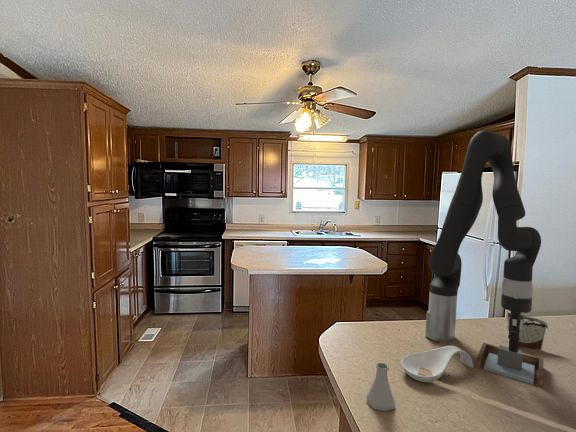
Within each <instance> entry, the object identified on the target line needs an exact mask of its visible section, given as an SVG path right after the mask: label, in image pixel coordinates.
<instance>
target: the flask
mask: <svg viewBox="0 0 576 432" xmlns="http://www.w3.org/2000/svg"><path fill="white" fill-rule="evenodd" d="M375 368H376V373H375V377H374V379H373V381H372V383H371V386H370V388H369V390H368V392H367V395H366V404H368V405H369V406H370V407H371V408H372V409H374V410H376V411H383V412H387V411H391V410H395V409H396V406H395V404H396V403H395V399H394V396H393V392H392V390H391V386H390V383H389V379H388V370H389V369H390V368H389V365H388V363H386V362H382V361H379V362H376V363H375Z"/></svg>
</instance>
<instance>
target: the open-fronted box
mask: <svg viewBox="0 0 576 432" xmlns="http://www.w3.org/2000/svg"><path fill="white" fill-rule="evenodd" d="M498 348H499V345H498V346H497V345H494V344H490V343H486V342H482V344H481V347H480V350H479V352H478V354H477V357H476V364H475V365H476V367H475V368H476V369H477V368H478V369H481V370H484V365H485V362H486V359H487V356H488V353H489V352H490V353H493V354H497V355H498ZM522 362H526V363H529V364H533V365H535V367H534V382H533V384H531V385H533V386H536V387H539V388H543V383H544V358H543V357H539V356H536V355H533V354H532V355H531V354H529V353H524V352H523V359H522ZM489 372H490V373H493V374H495V373H494V372H491V371H489ZM502 376H503V377H507V376H504V375H502ZM507 378H508V377H507ZM515 380H516V381H519V382H523V381H520V380H517V379H515ZM523 383H524V382H523Z"/></svg>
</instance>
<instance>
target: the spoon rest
mask: <svg viewBox="0 0 576 432" xmlns="http://www.w3.org/2000/svg"><path fill="white" fill-rule="evenodd" d="M456 354H459V355H460V359H459V362H461V363H463V365H465V366H467V367H469V368H475V367H474V362H473V359H472V357H471V355H470V354H469V353H468V352H467V351H465V350H463V349H462V348H460V347H458V346H457V345H456V346H455V345H445V346H441V347H438V348H434V349H429V350H426V351H419V352H415V353H411V354H410V353H409V354H407V355H404V357H402V359H401V360H400V366H401V368H402V369H403V370H404V372H405V373H406V374H407V375H408V376H409V377H410V378H412V379H413V380H416V381H419V382H422V383H431V382H435V381H437V380H439V379H440V378H441V377H442V376H443V374H444V373H445V371H446V370H447V368H448V366H449V364H450V361H451V360H452V358H453V357H454V356H455V355H456ZM421 369H425V370H428V371H430V373H431V374H432V375H424V374H422V373H419V371H420V370H421Z"/></svg>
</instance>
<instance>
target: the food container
mask: <svg viewBox="0 0 576 432" xmlns="http://www.w3.org/2000/svg"><path fill="white" fill-rule="evenodd" d="M546 329H547V330H548V329H549V328H548V323H547V322H546V321H545V320H542V319H539V318H535V317H532V316H527V315H526V316H525V315H524V318H523V324H522V332H521V333H520V334H519V338H520V340H519V342H518V347H522V348H527V349H529V350H535V351H542V348H543V344H544V339H545V334H546Z"/></svg>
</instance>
